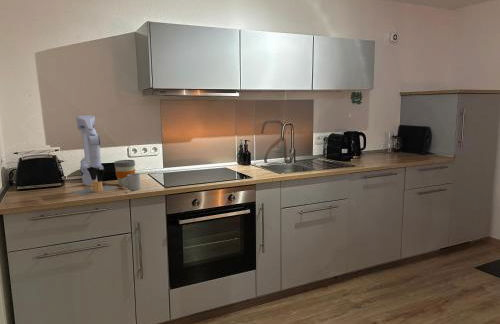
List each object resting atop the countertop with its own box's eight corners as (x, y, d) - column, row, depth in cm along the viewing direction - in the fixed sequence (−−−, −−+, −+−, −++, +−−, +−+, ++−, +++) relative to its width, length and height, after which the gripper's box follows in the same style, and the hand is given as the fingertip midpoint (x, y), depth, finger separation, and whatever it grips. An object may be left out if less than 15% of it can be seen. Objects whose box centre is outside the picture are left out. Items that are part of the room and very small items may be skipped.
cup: (141, 190, 218) (140, 175, 217) (123, 191, 214) (122, 176, 213) (140, 187, 225) (139, 173, 223) (123, 189, 221) (121, 174, 220)
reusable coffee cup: (139, 184, 233) (138, 161, 231) (120, 187, 225) (118, 163, 223) (131, 181, 243) (130, 159, 240) (112, 184, 234) (110, 161, 232)
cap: (91, 191, 210) (90, 181, 209) (100, 189, 214) (99, 179, 213) (95, 192, 207) (94, 182, 206) (104, 190, 210) (103, 180, 209)
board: (70, 194, 210) (69, 186, 209) (107, 187, 226) (106, 180, 225) (80, 198, 201) (80, 190, 200) (118, 190, 216) (118, 183, 216)
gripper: (82, 156, 209) (84, 180, 211) (93, 159, 199) (95, 183, 202) (94, 155, 214) (96, 178, 216) (106, 157, 205) (108, 181, 207)
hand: (96, 180), depth 209 cm, fingers open, 7 cm apart
